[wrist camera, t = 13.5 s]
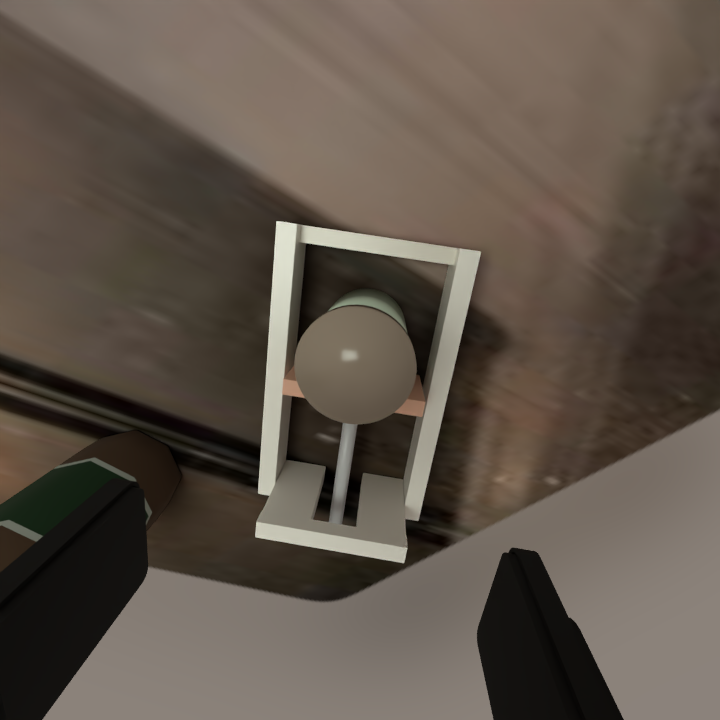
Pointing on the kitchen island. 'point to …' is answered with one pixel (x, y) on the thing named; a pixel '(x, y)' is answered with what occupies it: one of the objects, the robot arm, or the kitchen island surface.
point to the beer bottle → (87, 488)
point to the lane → (277, 475)
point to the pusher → (353, 440)
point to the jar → (357, 359)
